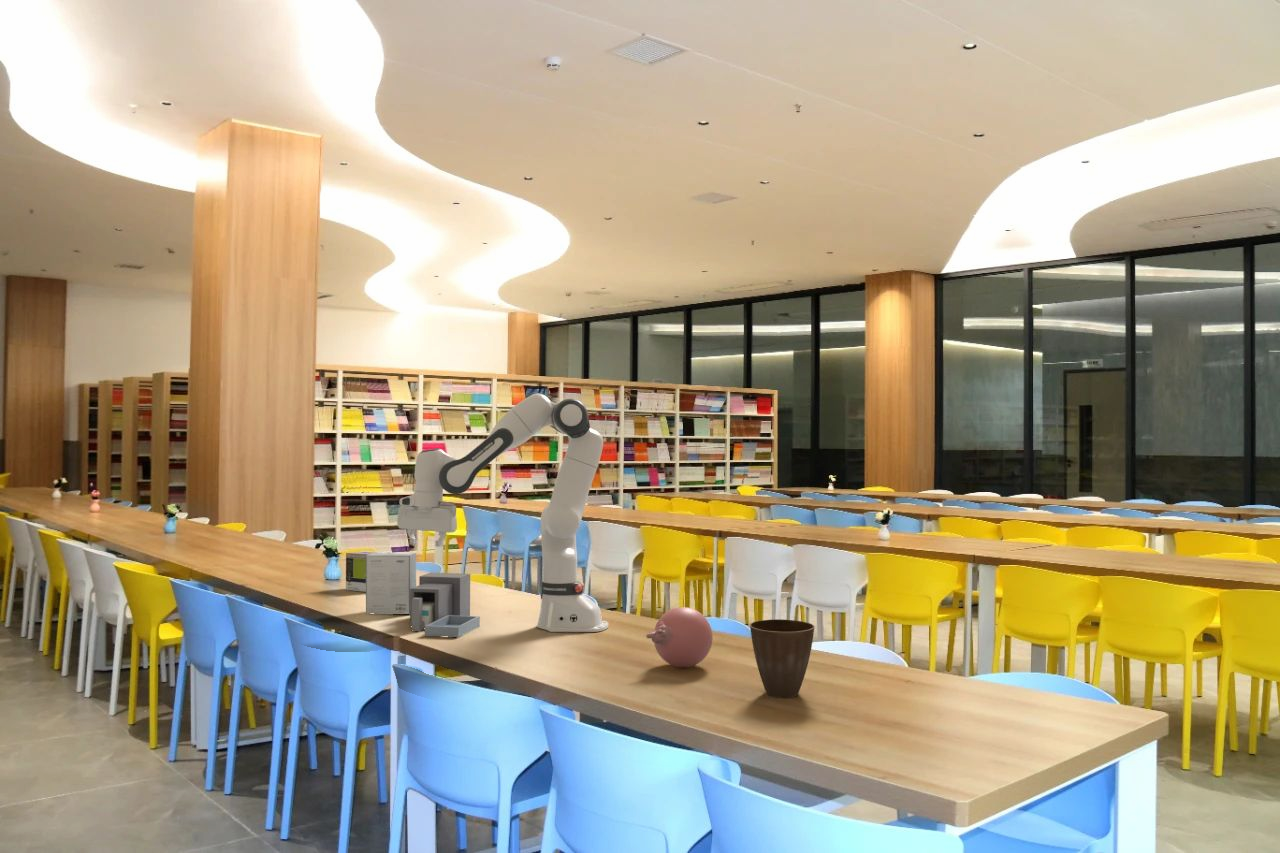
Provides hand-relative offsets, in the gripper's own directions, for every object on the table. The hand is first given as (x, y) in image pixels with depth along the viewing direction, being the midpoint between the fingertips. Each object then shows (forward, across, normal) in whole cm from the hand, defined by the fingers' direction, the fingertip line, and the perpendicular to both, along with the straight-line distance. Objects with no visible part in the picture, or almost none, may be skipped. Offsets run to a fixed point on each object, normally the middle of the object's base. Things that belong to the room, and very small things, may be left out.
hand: (426, 545), depth 307 cm
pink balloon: (+24, -90, +15) cm, 95 cm away
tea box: (+27, +66, -56) cm, 91 cm away
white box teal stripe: (+26, +1, -2) cm, 26 cm away
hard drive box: (+27, +27, -19) cm, 42 cm away
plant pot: (+23, -122, +29) cm, 128 cm away
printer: (+26, +4, -13) cm, 29 cm away
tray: (+26, -10, -1) cm, 28 cm away
